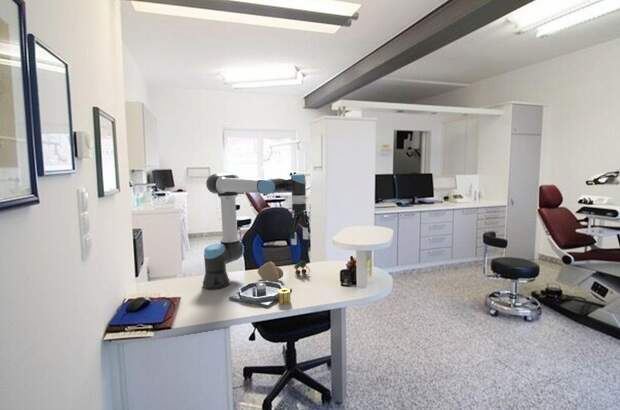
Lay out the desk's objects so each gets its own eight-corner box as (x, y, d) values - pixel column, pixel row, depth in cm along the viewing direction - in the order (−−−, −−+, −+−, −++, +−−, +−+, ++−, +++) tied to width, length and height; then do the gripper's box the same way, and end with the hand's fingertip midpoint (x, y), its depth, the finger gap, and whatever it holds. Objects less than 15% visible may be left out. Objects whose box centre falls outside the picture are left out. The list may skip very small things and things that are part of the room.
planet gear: (276, 303, 169) (275, 291, 168) (282, 299, 174) (282, 287, 173) (286, 305, 166) (286, 293, 165) (292, 300, 171) (292, 289, 171)
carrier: (229, 299, 174) (228, 287, 173) (256, 284, 196) (255, 273, 195) (267, 307, 164) (267, 295, 163) (291, 290, 185) (291, 279, 184)
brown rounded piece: (272, 288, 206) (287, 278, 198) (262, 290, 200) (277, 279, 192) (265, 268, 212) (279, 257, 204) (255, 269, 206) (269, 258, 198)
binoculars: (308, 277, 213) (305, 262, 217) (313, 273, 205) (309, 257, 209) (294, 279, 209) (291, 264, 213) (299, 275, 202) (295, 259, 206)
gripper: (294, 206, 167) (295, 247, 169) (315, 200, 189) (315, 237, 192) (281, 205, 170) (282, 246, 173) (303, 200, 192) (304, 236, 195)
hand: (299, 241), depth 182 cm, fingers open, 13 cm apart
